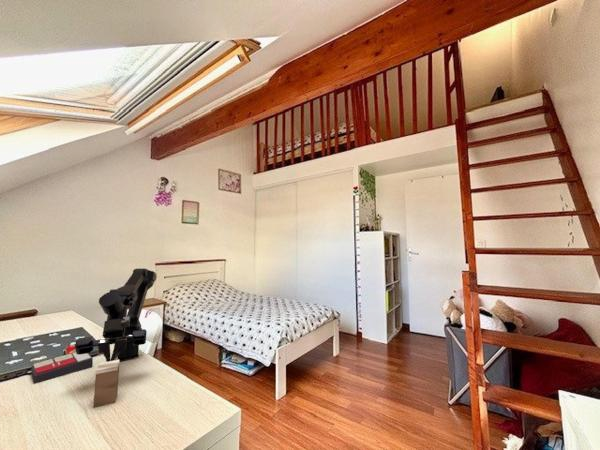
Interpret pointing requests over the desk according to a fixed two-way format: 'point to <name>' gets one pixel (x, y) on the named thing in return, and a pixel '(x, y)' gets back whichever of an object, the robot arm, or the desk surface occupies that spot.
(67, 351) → the race car
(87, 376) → the desk surface
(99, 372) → the beige tall block
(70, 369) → the calculator
